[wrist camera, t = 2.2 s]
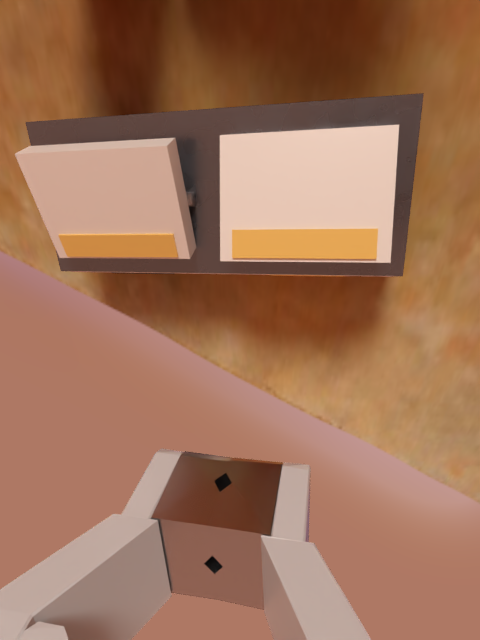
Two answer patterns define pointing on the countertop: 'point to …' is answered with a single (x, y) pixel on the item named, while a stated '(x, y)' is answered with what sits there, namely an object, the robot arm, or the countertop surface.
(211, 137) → the panel
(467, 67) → the countertop surface
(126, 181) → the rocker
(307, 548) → the robot arm
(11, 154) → the countertop surface
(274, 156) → the rocker
